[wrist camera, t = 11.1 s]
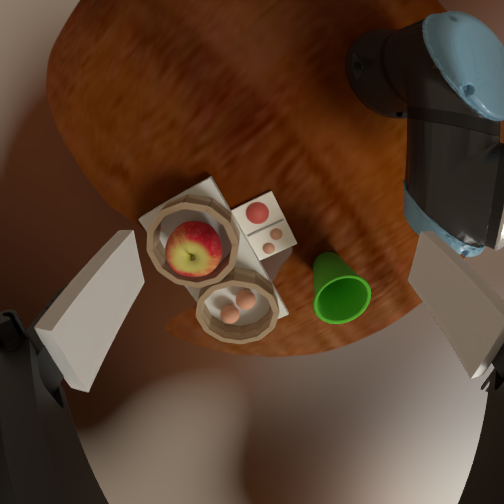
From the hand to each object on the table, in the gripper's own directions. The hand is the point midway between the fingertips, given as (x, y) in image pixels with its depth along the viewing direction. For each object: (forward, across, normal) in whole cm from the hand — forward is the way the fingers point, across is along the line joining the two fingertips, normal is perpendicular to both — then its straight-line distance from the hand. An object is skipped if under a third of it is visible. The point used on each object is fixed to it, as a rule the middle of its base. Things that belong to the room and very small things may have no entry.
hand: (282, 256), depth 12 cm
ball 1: (+31, -6, -28) cm, 42 cm away
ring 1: (+30, -11, -13) cm, 35 cm away
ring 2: (+31, -5, -26) cm, 40 cm away
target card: (+32, 0, -12) cm, 34 cm away
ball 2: (+31, -3, -24) cm, 39 cm away
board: (+32, -8, -20) cm, 38 cm away
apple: (+31, -10, -13) cm, 35 cm away
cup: (+32, +11, -19) cm, 39 cm away
